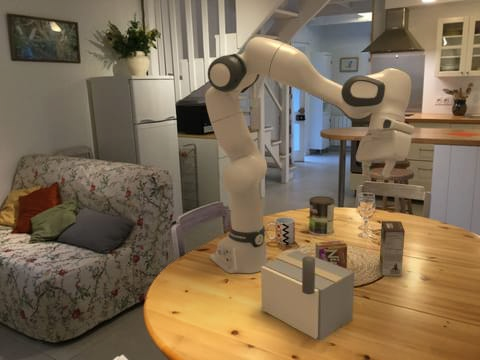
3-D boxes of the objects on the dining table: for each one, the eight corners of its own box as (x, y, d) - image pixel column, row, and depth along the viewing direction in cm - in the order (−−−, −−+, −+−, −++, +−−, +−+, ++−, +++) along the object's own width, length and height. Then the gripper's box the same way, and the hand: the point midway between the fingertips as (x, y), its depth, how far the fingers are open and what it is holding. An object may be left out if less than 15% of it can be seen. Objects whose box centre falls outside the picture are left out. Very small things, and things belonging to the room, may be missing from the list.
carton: (263, 309, 120) (262, 263, 117) (296, 292, 129) (296, 249, 126) (321, 341, 106) (322, 289, 102) (353, 319, 115) (355, 271, 111)
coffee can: (315, 237, 173) (316, 204, 169) (304, 228, 182) (305, 197, 179) (338, 233, 176) (339, 201, 172) (326, 225, 185) (326, 195, 182)
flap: (256, 312, 118) (255, 241, 112) (264, 308, 119) (263, 238, 114) (310, 342, 104) (311, 263, 99) (317, 337, 106) (319, 259, 101)
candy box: (342, 285, 133) (343, 239, 130) (346, 291, 129) (348, 245, 125) (314, 287, 132) (315, 241, 129) (318, 294, 128) (319, 247, 125)
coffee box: (378, 263, 147) (381, 220, 143) (398, 264, 146) (400, 221, 142) (381, 275, 139) (384, 229, 135) (402, 277, 137) (405, 230, 133)
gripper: (356, 129, 124) (346, 175, 124) (397, 120, 105) (385, 174, 104) (374, 135, 126) (364, 180, 125) (419, 126, 106) (407, 180, 105)
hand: (374, 177), depth 114 cm, fingers open, 8 cm apart
